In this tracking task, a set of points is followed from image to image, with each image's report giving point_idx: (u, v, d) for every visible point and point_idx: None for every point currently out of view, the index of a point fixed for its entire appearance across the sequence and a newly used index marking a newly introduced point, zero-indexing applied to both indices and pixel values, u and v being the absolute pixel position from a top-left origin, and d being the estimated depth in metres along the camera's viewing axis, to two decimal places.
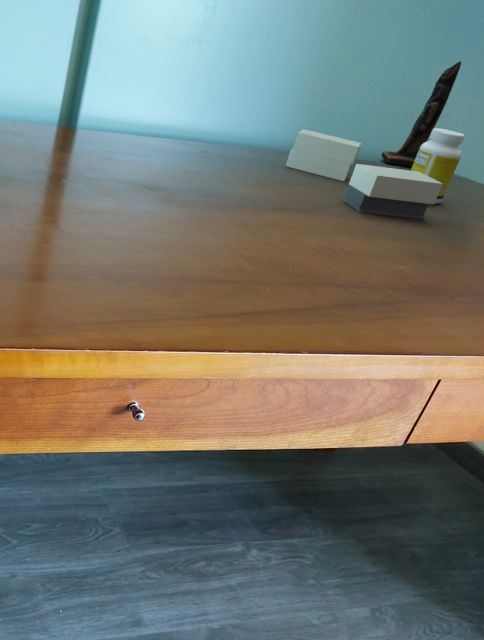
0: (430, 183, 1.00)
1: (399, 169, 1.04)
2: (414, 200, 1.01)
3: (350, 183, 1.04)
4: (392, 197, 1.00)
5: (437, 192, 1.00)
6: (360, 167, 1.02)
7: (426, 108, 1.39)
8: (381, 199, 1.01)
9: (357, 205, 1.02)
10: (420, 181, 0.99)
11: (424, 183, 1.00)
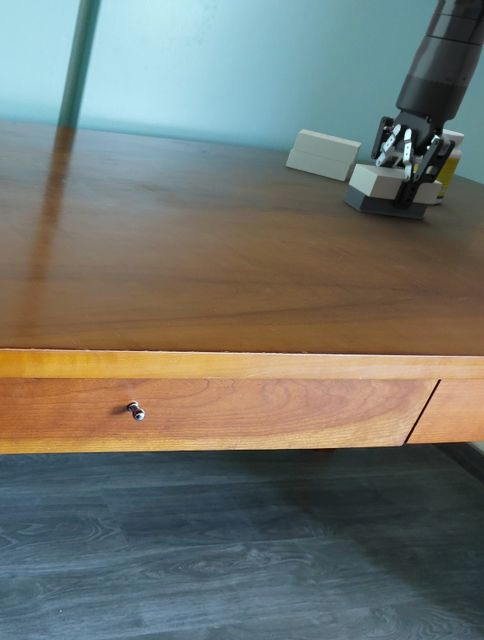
0: (430, 183, 1.00)
1: (399, 169, 1.04)
2: (414, 200, 1.01)
3: (350, 183, 1.04)
4: (392, 197, 1.00)
5: (437, 192, 1.00)
6: (360, 167, 1.02)
7: None
8: (381, 199, 1.01)
9: (357, 205, 1.02)
10: None
11: (424, 183, 1.00)
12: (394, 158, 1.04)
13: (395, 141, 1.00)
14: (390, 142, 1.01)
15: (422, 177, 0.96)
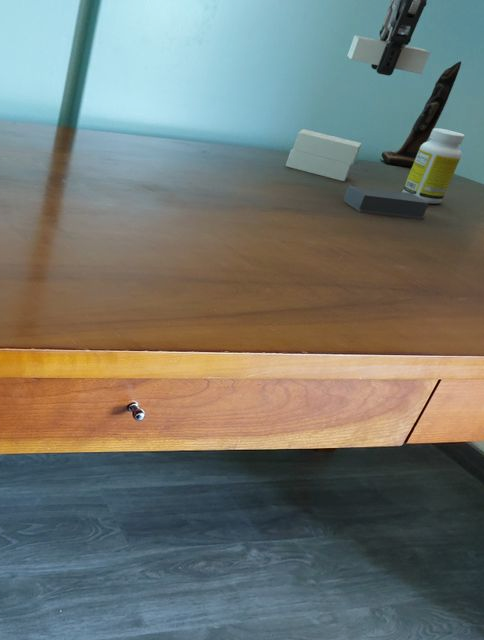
0: (416, 50, 1.04)
1: None
2: (399, 67, 1.06)
3: None
4: (375, 62, 1.07)
5: (424, 61, 1.05)
6: (355, 37, 1.10)
7: (426, 108, 1.39)
8: (381, 199, 1.01)
9: (357, 205, 1.02)
10: (405, 48, 1.05)
11: (409, 50, 1.05)
12: None
13: (391, 12, 1.07)
14: (387, 14, 1.08)
15: (395, 37, 1.02)
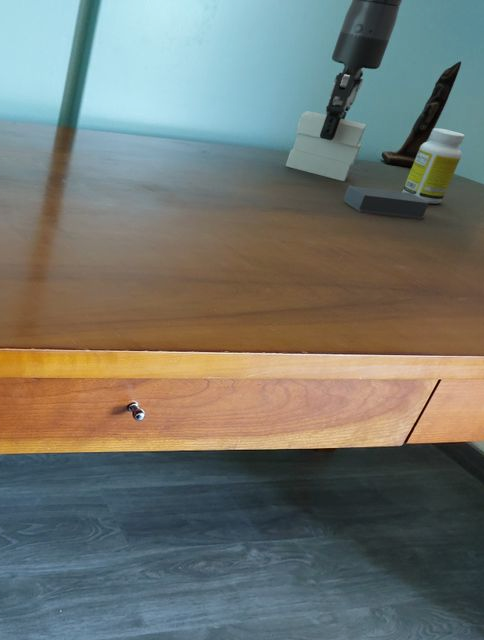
0: (351, 126, 1.20)
1: None
2: (337, 140, 1.21)
3: None
4: (317, 135, 1.22)
5: (358, 136, 1.20)
6: (305, 112, 1.26)
7: (426, 108, 1.39)
8: (381, 199, 1.01)
9: (357, 205, 1.02)
10: (341, 124, 1.20)
11: (345, 126, 1.20)
12: None
13: None
14: None
15: (330, 107, 1.16)
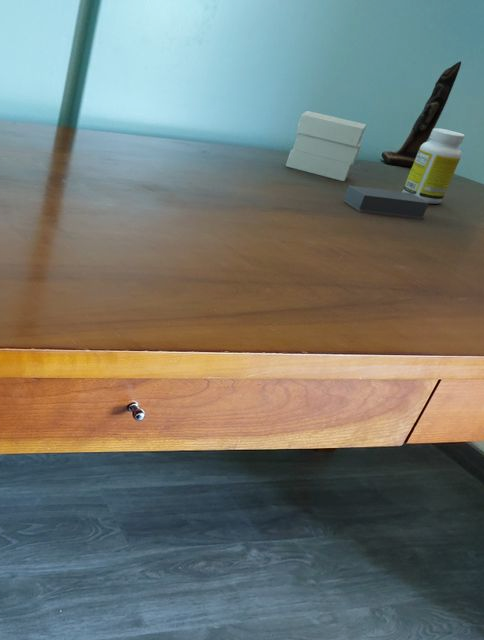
0: (351, 126, 1.20)
1: None
2: (337, 140, 1.21)
3: None
4: (317, 135, 1.22)
5: (358, 136, 1.20)
6: (305, 112, 1.26)
7: (426, 108, 1.39)
8: (381, 199, 1.01)
9: (357, 205, 1.02)
10: (341, 124, 1.20)
11: (345, 126, 1.20)
12: None
13: None
14: None
15: None
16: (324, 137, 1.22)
